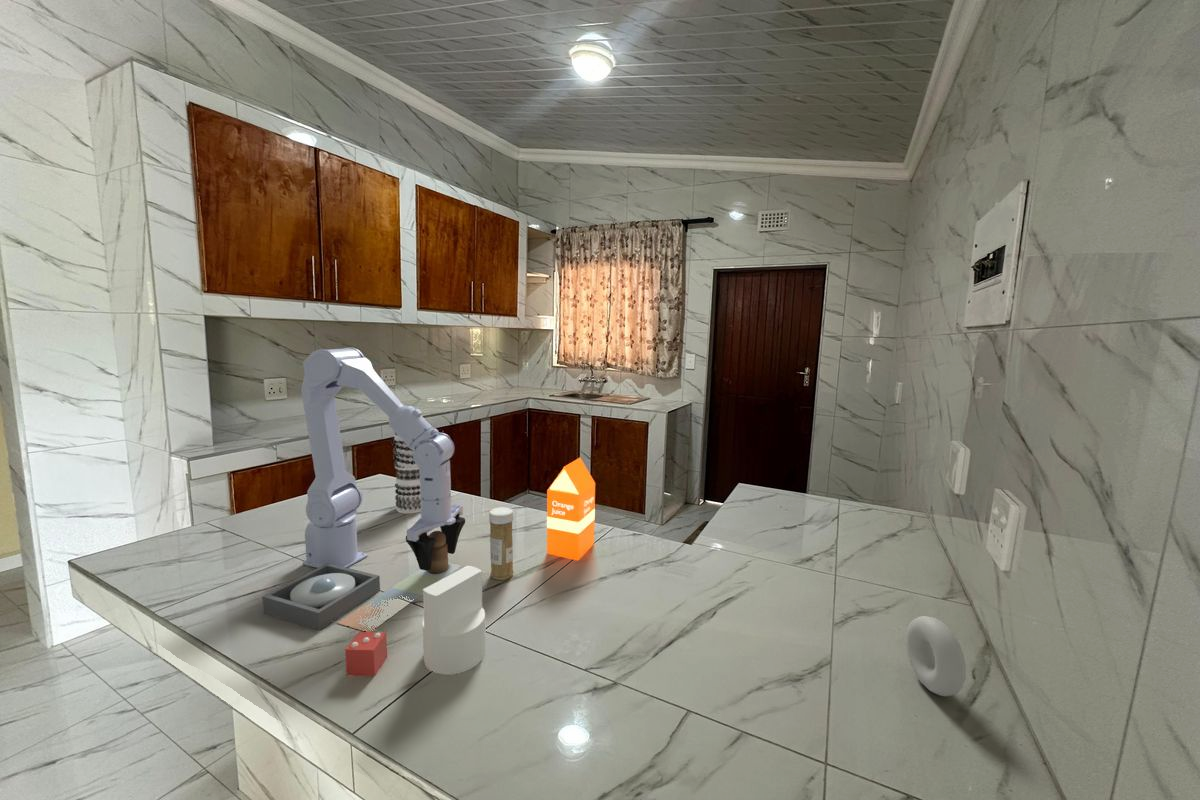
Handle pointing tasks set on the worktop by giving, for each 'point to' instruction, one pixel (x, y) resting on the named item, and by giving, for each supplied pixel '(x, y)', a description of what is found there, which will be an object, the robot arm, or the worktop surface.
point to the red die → (366, 654)
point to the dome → (322, 589)
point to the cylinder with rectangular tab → (454, 622)
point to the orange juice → (571, 512)
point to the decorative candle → (406, 478)
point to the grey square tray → (319, 618)
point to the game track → (397, 595)
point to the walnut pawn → (439, 553)
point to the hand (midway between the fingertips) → (437, 560)
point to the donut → (935, 656)
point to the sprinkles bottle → (501, 543)
